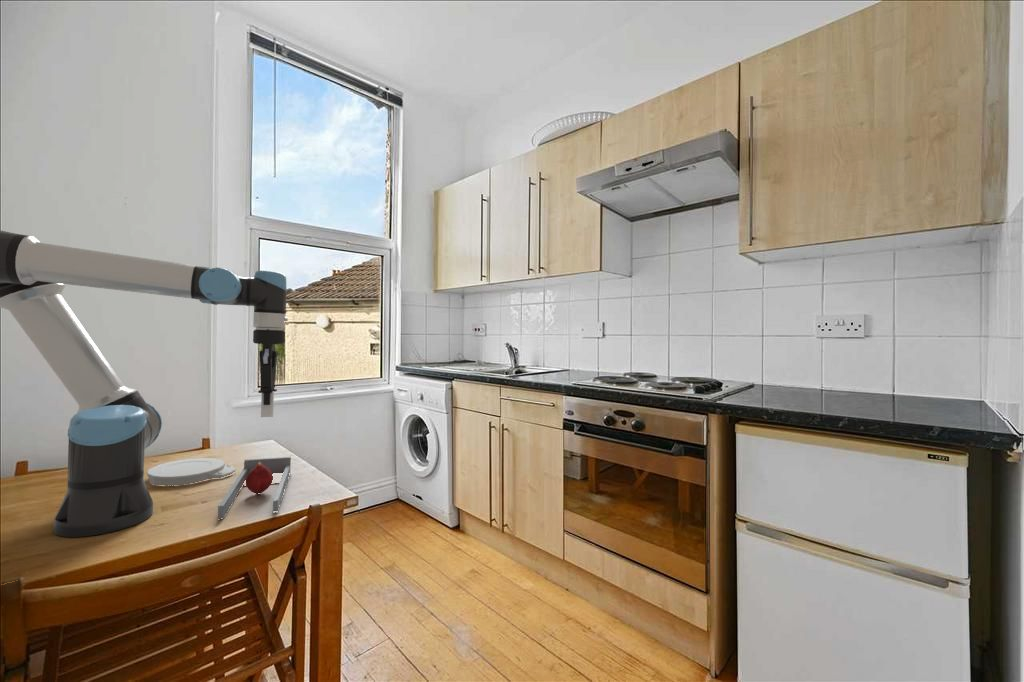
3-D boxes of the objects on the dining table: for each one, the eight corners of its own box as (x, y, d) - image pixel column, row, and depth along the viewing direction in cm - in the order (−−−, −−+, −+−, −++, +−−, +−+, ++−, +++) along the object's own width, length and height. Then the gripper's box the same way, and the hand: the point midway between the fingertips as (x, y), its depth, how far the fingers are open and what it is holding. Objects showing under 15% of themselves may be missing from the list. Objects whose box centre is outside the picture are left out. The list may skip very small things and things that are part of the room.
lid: (223, 485, 113) (223, 474, 113) (131, 490, 108) (132, 478, 108) (243, 466, 130) (244, 456, 130) (165, 469, 124) (166, 459, 124)
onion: (276, 493, 108) (277, 462, 108) (253, 500, 104) (254, 467, 104) (264, 488, 112) (265, 458, 112) (240, 495, 107) (241, 463, 107)
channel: (217, 520, 92) (218, 496, 92) (244, 477, 119) (245, 459, 119) (277, 513, 97) (278, 491, 97) (290, 473, 124) (290, 456, 124)
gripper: (282, 329, 111) (279, 420, 111) (287, 329, 123) (285, 411, 123) (248, 328, 108) (246, 421, 108) (257, 328, 120) (255, 412, 120)
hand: (267, 416), depth 116 cm, fingers closed
